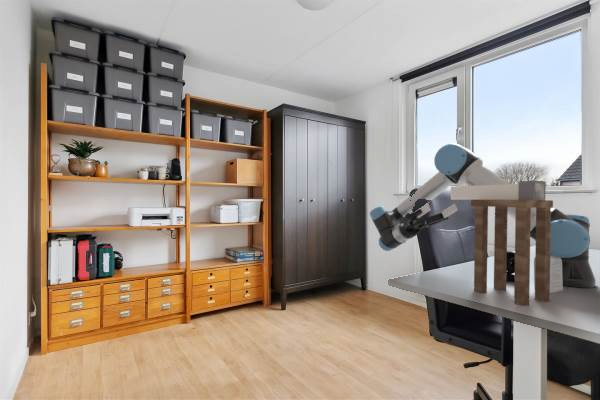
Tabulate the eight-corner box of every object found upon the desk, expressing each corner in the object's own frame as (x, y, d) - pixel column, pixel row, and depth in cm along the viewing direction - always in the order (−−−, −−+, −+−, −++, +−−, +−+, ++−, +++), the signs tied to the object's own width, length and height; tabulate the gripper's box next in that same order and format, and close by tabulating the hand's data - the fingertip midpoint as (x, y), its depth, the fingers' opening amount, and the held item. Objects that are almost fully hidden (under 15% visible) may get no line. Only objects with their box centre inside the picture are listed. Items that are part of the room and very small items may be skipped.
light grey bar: (459, 199, 110) (460, 185, 110) (545, 200, 85) (545, 181, 85) (449, 199, 108) (449, 184, 108) (533, 200, 83) (534, 180, 83)
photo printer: (549, 289, 102) (548, 251, 103) (565, 292, 98) (563, 252, 99) (532, 291, 97) (531, 251, 98) (548, 294, 93) (546, 253, 94)
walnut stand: (495, 286, 101) (496, 200, 101) (551, 301, 86) (552, 200, 86) (469, 289, 96) (470, 199, 96) (523, 306, 82) (525, 199, 82)
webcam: (505, 282, 106) (505, 253, 106) (491, 277, 114) (492, 249, 114) (527, 282, 106) (528, 253, 106) (512, 277, 114) (513, 249, 114)
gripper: (431, 238, 133) (470, 215, 116) (384, 240, 123) (420, 216, 106) (425, 222, 137) (462, 198, 120) (379, 222, 127) (412, 197, 110)
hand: (442, 206), depth 113 cm, fingers open, 13 cm apart
